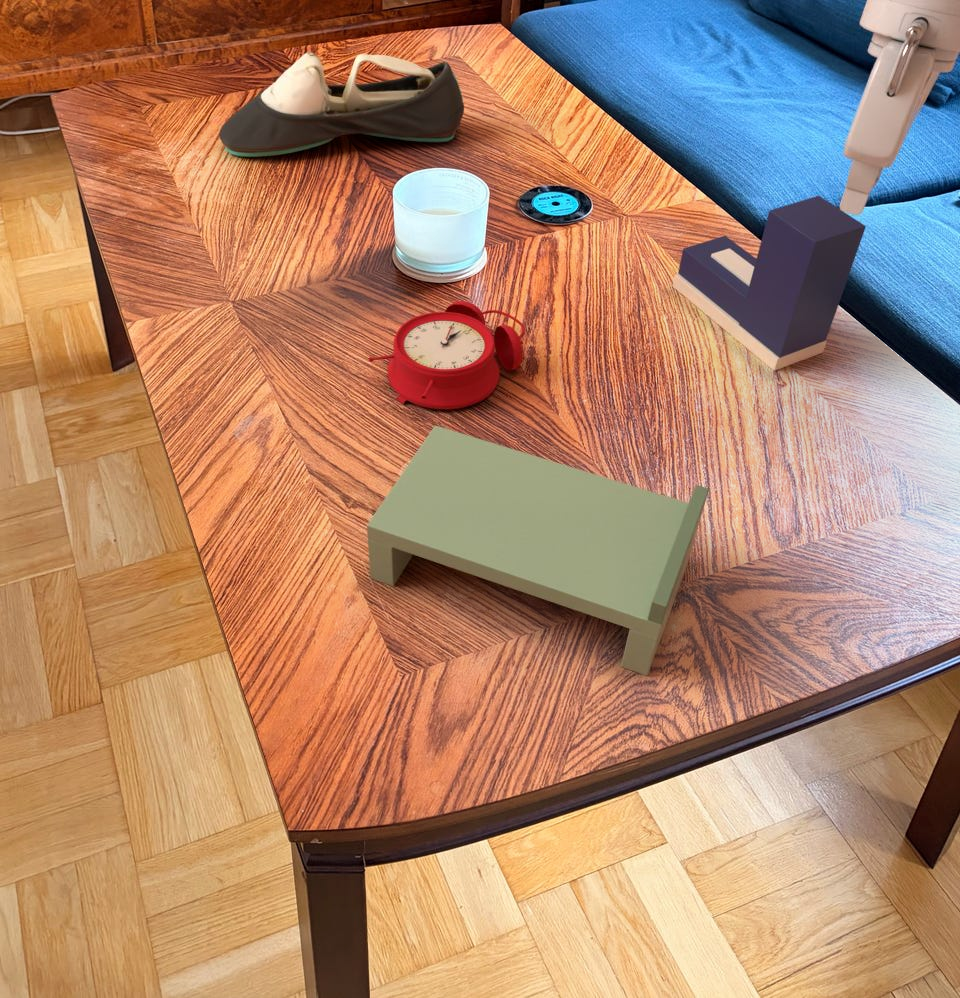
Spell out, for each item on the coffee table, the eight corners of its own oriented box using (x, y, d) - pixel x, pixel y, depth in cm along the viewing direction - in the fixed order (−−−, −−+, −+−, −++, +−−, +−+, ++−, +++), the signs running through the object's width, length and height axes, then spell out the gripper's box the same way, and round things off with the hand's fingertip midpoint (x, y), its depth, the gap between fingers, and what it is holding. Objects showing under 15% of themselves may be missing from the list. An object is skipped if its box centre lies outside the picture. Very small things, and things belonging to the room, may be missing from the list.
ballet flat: (217, 130, 127) (203, 46, 119) (450, 109, 133) (451, 28, 125) (225, 169, 120) (211, 82, 112) (470, 145, 126) (472, 62, 119)
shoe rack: (689, 559, 79) (709, 488, 73) (647, 676, 71) (666, 606, 65) (434, 478, 84) (435, 405, 79) (369, 578, 76) (365, 506, 71)
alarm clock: (353, 348, 90) (468, 255, 95) (368, 393, 95) (476, 303, 101) (433, 402, 85) (549, 302, 91) (444, 447, 91) (554, 350, 96)
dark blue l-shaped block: (823, 352, 98) (868, 225, 88) (774, 371, 96) (814, 243, 86) (719, 271, 108) (749, 148, 98) (672, 286, 106) (697, 162, 96)
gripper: (964, 38, 65) (883, 242, 73) (975, 11, 81) (907, 180, 89) (867, 15, 67) (798, 217, 74) (897, -6, 82) (837, 161, 90)
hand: (858, 197), depth 82 cm, fingers open, 8 cm apart
